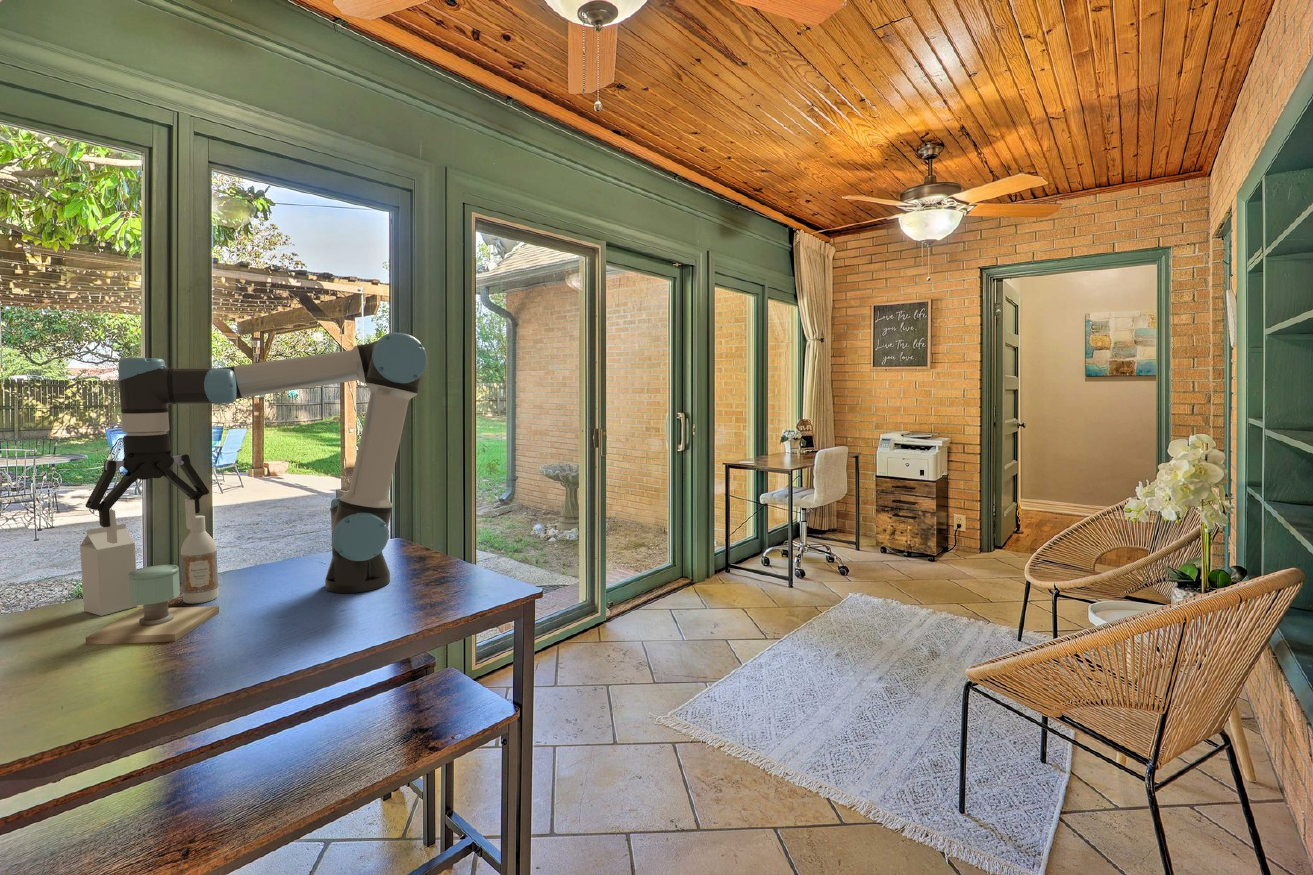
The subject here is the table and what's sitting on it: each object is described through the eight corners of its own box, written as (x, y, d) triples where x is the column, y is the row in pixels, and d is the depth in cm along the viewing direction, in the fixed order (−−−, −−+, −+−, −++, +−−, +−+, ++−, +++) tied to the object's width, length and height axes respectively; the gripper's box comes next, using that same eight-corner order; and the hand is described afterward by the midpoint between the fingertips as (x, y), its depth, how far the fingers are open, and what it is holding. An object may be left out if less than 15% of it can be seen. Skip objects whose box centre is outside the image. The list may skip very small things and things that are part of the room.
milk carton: (138, 606, 144) (134, 525, 143) (100, 616, 138) (95, 531, 136) (121, 601, 147) (117, 522, 146) (83, 611, 141) (78, 528, 139)
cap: (141, 593, 134) (140, 566, 134) (186, 590, 137) (185, 563, 136) (121, 606, 127) (120, 577, 126) (170, 603, 129) (168, 574, 129)
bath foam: (181, 606, 145) (177, 520, 143) (184, 597, 151) (179, 515, 149) (218, 600, 149) (214, 517, 147) (219, 592, 155) (215, 512, 153)
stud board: (219, 612, 141) (217, 562, 140) (175, 641, 125) (172, 584, 124) (140, 615, 139) (137, 564, 138) (85, 644, 123) (82, 587, 122)
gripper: (206, 429, 141) (212, 522, 143) (59, 437, 120) (68, 546, 122) (223, 430, 137) (228, 525, 139) (73, 439, 116) (82, 551, 118)
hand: (153, 535), depth 131 cm, fingers open, 13 cm apart
